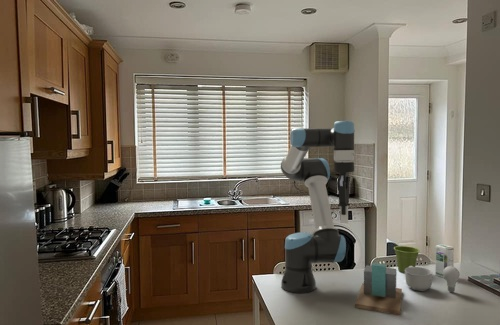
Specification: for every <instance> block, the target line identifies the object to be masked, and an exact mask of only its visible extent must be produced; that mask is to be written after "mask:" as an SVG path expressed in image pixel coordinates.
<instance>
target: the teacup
mask: <svg viewBox="0 0 500 325" xmlns="http://www.w3.org/2000/svg"><path fill="white" fill-rule="evenodd" d="M404 278H405V283H406V285H407V286H408V287H409V288H410V289H412V290H414V291H418V292H424V291H428V289H430V288H431V287H432V285H433V271H432V269H429V268H427V267H422V266H415V267H413V266H409V267H408V268H406V269H405V273H404Z"/></svg>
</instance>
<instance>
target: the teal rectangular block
mask: <svg viewBox="0 0 500 325" xmlns="http://www.w3.org/2000/svg"><path fill="white" fill-rule="evenodd" d="M371 266H372V295H374V296H380V297H386V268H387V264H385V263H377V262H376V263H375V262H372V264H371Z"/></svg>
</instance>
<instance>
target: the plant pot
mask: <svg viewBox="0 0 500 325" xmlns="http://www.w3.org/2000/svg"><path fill="white" fill-rule="evenodd" d="M393 249H394V253H395V255H396V264H397V270H398V271H399V272H400V273H403V274H405V269H406V268H408V267H409V266H413V267H416V265H417V264H416V263H417V259H418V256H419V253H420V249H419V248H418V247H413V246H407V245H396V246H394V247H393Z"/></svg>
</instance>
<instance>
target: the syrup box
mask: <svg viewBox="0 0 500 325" xmlns="http://www.w3.org/2000/svg"><path fill="white" fill-rule="evenodd" d="M454 253H455V247H454V246H451V245H447V244H437V245H435V273H434V274H435V276H437V277H440V278H443V279H445V277H444V275H443V270H444V269H445V268H446V267H448V266H453V267H455V266H454V260H455V257H454V256H455V254H454Z"/></svg>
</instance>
